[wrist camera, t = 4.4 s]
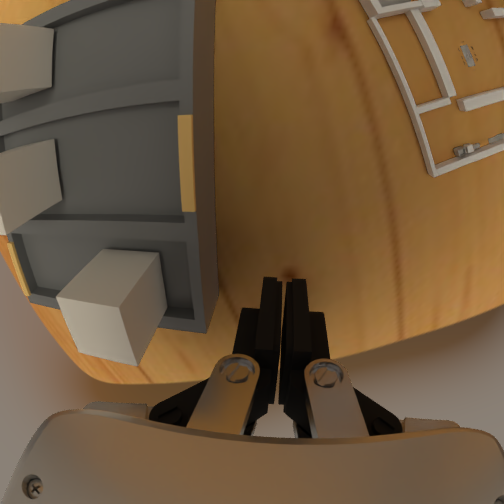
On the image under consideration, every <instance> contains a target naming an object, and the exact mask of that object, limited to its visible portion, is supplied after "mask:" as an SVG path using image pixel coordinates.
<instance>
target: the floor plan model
mask: <svg viewBox="0 0 504 504" xmlns="http://www.w3.org/2000/svg"><path fill="white" fill-rule="evenodd" d="M462 1H463V3H464V5H465V7H471V6H474V5H476V4H479V3H482V1H481V0H462ZM359 2H360V3H361V5H362V7H363V8H364V10H365V12H366V13H367V15H368V17H369V18H370V19H369V20H368V21H367V23H368V25H369V26H370V28H371V30H372V32H373V34H374V36H375V37H376V39H377V41H378V43H379V45H380V47H381V49H382V51H383V53H384V55H385V57H386V60H387V62H388V64H389V66H390V68H391V70H392V73H393V75H394V77H395V79H396V82H397V84H398V86H399V89H400V91H401V94H402V96H403V99H404V101H405V104H406V107H407V109H408V112H409V115H410V117H411V120H412V123H413V126H414V129H415V132H416V135H417V138H418V141H419V144H420V147H421V150H422V154H423V157H424V161H425V164H426V168H427V171H428V174H429V175H431V176H432V177H437V176H439V175H442V174H444V173H447V172H449V171H452V170H454V169H457V168H459V167H462V166H464V165H467V164H469V163H472V162H475V161H478V160H480V159H483V158H485V157H488V156H490V155H493V154H495V153H498V152H500V151H503V150H504V133H503V134H502V133H500V134H498V135H496V136H495V137H492V138H489V139H488V140H489V144H488V145H486V146H483V147H480V144H479V143H475V144H473V145H472V144H469V143H468V144H464V145H463V147H462V146H459V147H456V148H454V149H453V150H454V154H455V155H456V156H457V157H454V158H452V159H449V160H446V161H444V162H441V163H439V164H436V165H435V164H434V161H433V157H432V154H431V150H430V147H429V143H428V140H427V137H426V134H425V131H424V128H423V125H422V122H421V119H420V116H419V114H421V113H424V112H427V111H430V110H433V109H436V108H439V107H442V106H445V105H449V104H451V101H450V98H449V97H453V96H456V95H457V94H456V91H455V88H454V86H453V83H452V80H451V77H450V75H449V72H448V70H447V67H446V65H445V62H444V60H443V57H442V55H441V53H440V51H439V48H438V46H437V44H436V42H435V40H434V37H433V35H432V33H431V31H430V29H429V27H428V25H427V23H426V21H425V19H424V17H423V16H422V14H421V12H427V11H431V10H433V9H435V8H437V7H439V6H441V3H440V1H439V0H418V1H412V2H411V0H359ZM403 13H405V14H406V16H407V18H408V19H409V21H410V23H411V25H412V27H413V29H414V31H415V33H416V35H417V37H418V39H419V41H420V43H421V45H422V47H423V50H424V52H425V54H426V56H427V59H428V61H429V63H430V66H431V68H432V70H433V73H434V75H435V78H436V80H437V83H438V86H439V88H440V91H441V94H442V98H439V99H435V100H432V101H429V102H426V103H423V104H419V105H416V104H415V101H414V98H413V96H412V93H411V91H410V88H409V86H408V83H407V81H406V79H405V76H404V74H403V72H402V69H401V67H400V65H399V63H398V60H397V58H396V56H395V54H394V52H393V50H392V48H391V46H390V44H389V42H388V40H387V38H386V36H385V34H384V32H383V30H382V28H381V27H380V25H379V23H378V21H377V19H380V18H384V17H389V16H393V15H398V14H403ZM480 14H481V16H482V18H483V19H493V18H504V8H490V9H487V10H484V11H481V12H480ZM460 47H461V49H462V52H463V54H464V57H465V59H466V62H467V64H468V67H471V66H475V63H474V60H473V58H472V55H471V53H470V50H469V48H468V46H467V45H462V46H460ZM471 48H473V47H472V46H471ZM459 52H460V50H459ZM474 55H475V54H474ZM475 56H476V55H475ZM462 59H463V58H462ZM476 59H477V58H476ZM464 65H465V63H464ZM503 100H504V87H500V88H496V89H492V90H489V91H485V92H481V93H478V94H474V95H470V96H467V97H463V98H460V99H457V100H456V101H457V104H458V107H459V110H460V111H470V110H473V109H476V108H479V107H483V106H486V105H489V104H493V103H496V102H499V101H503ZM501 139H502V140H501ZM498 140H499V141H498ZM493 142H494V143H493ZM490 143H491V144H490ZM479 147H480V148H479ZM477 148H478V149H477ZM474 149H475V150H474ZM466 152H467V153H466Z"/></svg>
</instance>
